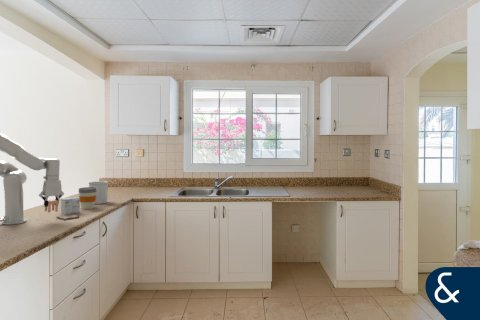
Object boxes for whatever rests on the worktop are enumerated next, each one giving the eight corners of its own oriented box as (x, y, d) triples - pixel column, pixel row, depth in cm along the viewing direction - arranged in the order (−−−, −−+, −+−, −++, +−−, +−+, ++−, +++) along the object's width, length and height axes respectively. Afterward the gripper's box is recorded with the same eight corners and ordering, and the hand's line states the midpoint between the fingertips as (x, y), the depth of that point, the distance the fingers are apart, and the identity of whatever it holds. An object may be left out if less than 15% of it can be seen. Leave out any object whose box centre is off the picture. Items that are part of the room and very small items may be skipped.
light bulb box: (75, 211, 243) (75, 196, 242) (80, 212, 238) (80, 197, 238) (60, 213, 234) (60, 198, 234) (64, 214, 230) (64, 199, 230)
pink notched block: (48, 212, 209) (49, 201, 208) (44, 211, 212) (44, 200, 212) (57, 211, 213) (58, 200, 213) (53, 210, 216) (53, 199, 216)
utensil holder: (92, 201, 284) (92, 180, 283) (110, 201, 286) (110, 180, 285) (86, 204, 269) (86, 182, 269) (105, 204, 271) (105, 183, 270)
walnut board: (64, 220, 214) (64, 218, 214) (56, 218, 220) (56, 216, 220) (79, 217, 222) (79, 216, 222) (71, 215, 228) (71, 214, 228)
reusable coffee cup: (91, 209, 250) (91, 189, 249) (75, 209, 250) (75, 189, 249) (99, 206, 262) (99, 187, 262) (83, 205, 263) (83, 187, 262)
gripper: (40, 179, 203) (39, 208, 203) (68, 178, 217) (67, 205, 217) (35, 177, 207) (34, 206, 208) (63, 176, 221) (62, 203, 222)
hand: (51, 205), depth 212 cm, fingers closed on pink notched block, 5 cm apart
